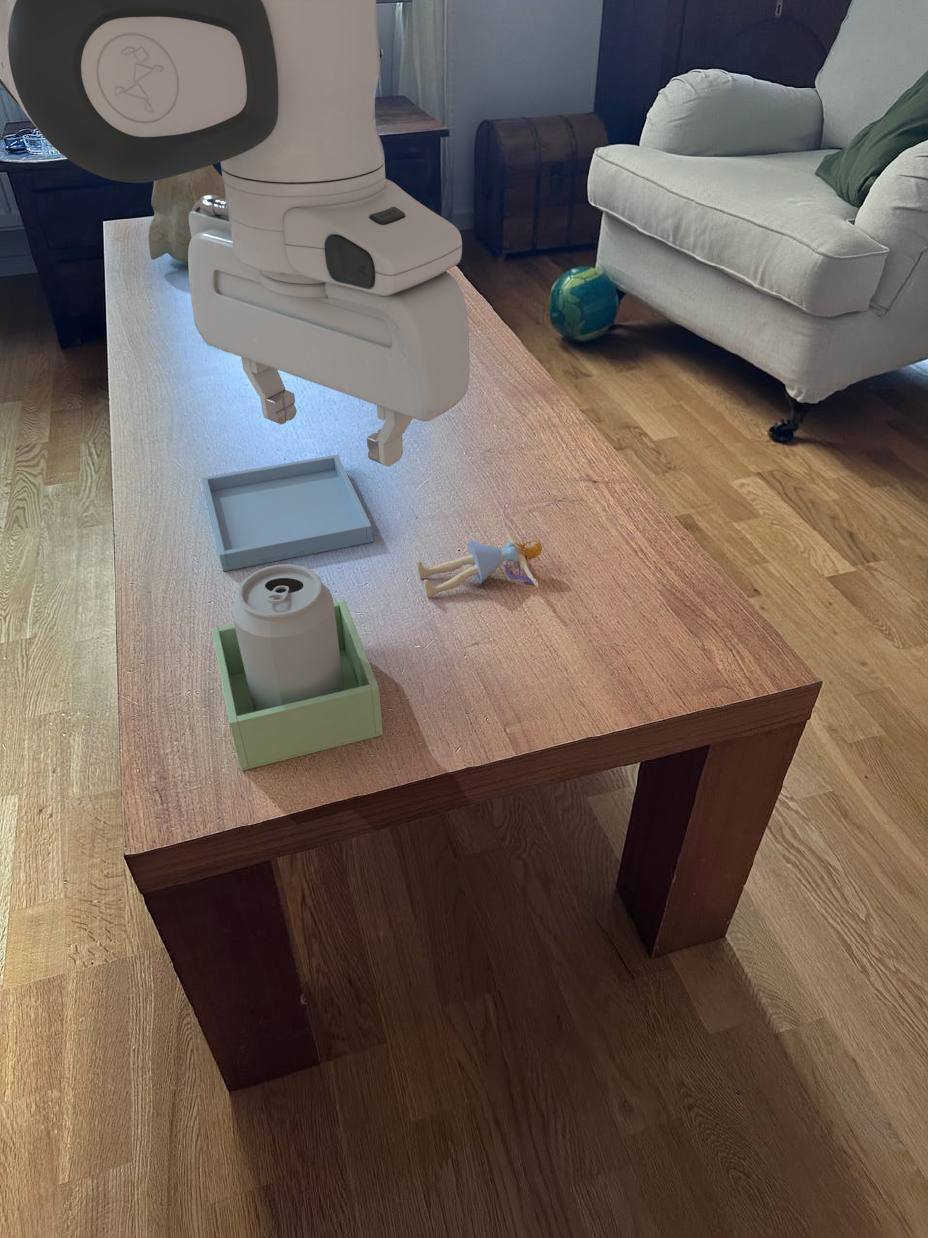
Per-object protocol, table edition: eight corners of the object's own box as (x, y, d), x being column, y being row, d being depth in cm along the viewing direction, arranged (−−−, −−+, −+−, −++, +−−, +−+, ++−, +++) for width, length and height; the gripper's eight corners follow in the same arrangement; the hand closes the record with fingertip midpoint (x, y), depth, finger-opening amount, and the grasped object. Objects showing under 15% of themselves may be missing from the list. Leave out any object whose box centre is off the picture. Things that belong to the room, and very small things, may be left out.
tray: (223, 571, 87) (219, 555, 85) (204, 493, 98) (201, 477, 96) (373, 541, 90) (371, 525, 89) (339, 469, 101) (337, 454, 100)
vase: (317, 158, 159) (154, 121, 151) (328, 166, 141) (142, 125, 133) (303, 283, 169) (148, 255, 161) (311, 305, 151) (137, 275, 143)
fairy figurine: (405, 525, 86) (521, 496, 88) (412, 563, 90) (524, 534, 91) (432, 596, 78) (560, 562, 79) (439, 635, 81) (562, 602, 83)
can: (353, 673, 75) (340, 559, 67) (334, 738, 69) (318, 622, 62) (267, 667, 76) (244, 553, 68) (241, 731, 70) (214, 616, 62)
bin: (241, 771, 67) (229, 723, 64) (222, 675, 75) (210, 628, 72) (383, 735, 70) (379, 687, 67) (350, 646, 78) (344, 599, 75)
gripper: (144, 200, 52) (189, 412, 61) (414, 270, 43) (421, 508, 52) (224, 178, 56) (256, 381, 65) (487, 238, 47) (482, 465, 56)
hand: (331, 438), depth 59 cm, fingers open, 8 cm apart
